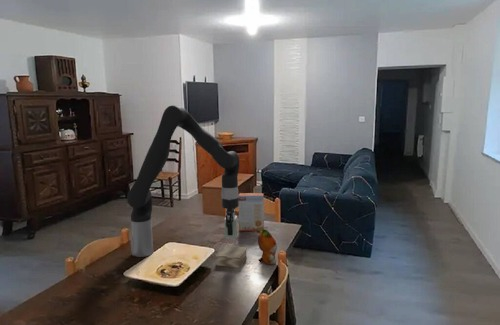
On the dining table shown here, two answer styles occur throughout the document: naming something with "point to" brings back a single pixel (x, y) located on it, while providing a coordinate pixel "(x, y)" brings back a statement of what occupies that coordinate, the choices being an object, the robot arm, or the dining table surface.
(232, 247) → the beige box
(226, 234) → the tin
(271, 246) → the toy
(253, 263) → the dining table surface
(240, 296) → the dining table surface
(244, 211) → the cracker box
